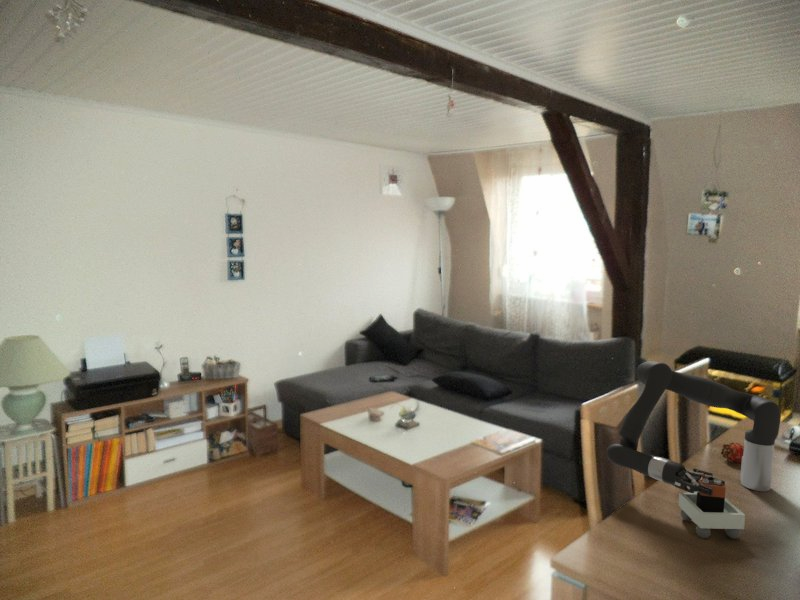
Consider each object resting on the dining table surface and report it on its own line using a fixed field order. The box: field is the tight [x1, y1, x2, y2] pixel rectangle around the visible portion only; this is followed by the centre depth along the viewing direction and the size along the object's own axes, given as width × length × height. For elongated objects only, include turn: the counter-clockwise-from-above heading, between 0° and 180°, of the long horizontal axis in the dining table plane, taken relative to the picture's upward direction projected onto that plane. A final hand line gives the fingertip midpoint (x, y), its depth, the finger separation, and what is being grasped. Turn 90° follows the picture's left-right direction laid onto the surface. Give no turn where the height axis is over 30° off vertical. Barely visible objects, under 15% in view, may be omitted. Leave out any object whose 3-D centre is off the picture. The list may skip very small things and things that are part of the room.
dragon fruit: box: [720, 442, 744, 464], centre depth 226 cm, size 8×8×12 cm
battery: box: [696, 478, 727, 513], centre depth 173 cm, size 4×7×10 cm, turn 77°
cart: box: [678, 491, 746, 540], centre depth 174 cm, size 14×13×8 cm
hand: (718, 488), depth 171 cm, fingers open, 8 cm apart
